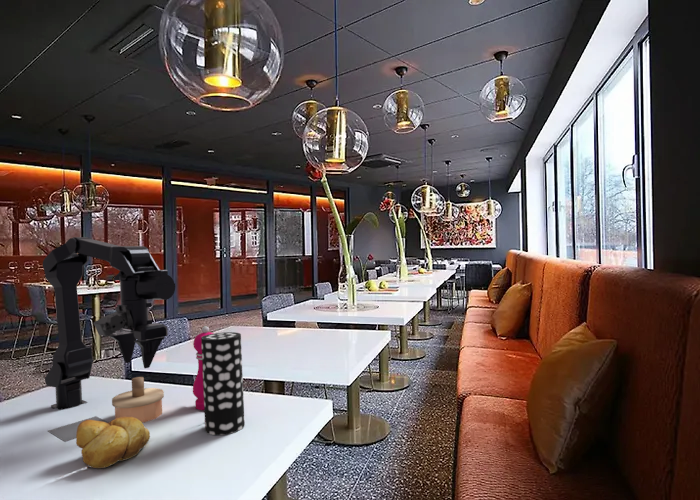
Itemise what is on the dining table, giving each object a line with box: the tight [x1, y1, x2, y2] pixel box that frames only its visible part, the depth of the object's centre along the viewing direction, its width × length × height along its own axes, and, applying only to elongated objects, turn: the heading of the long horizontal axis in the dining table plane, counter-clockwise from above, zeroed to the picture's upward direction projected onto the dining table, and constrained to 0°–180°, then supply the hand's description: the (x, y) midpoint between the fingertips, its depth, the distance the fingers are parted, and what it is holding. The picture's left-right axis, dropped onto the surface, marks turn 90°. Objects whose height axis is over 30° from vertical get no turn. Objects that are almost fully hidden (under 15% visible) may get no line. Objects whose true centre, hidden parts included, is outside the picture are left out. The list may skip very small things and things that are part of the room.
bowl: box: [114, 398, 163, 423], centre depth 105 cm, size 10×10×4 cm
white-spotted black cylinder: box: [201, 331, 246, 436], centre depth 98 cm, size 8×8×20 cm
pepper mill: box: [192, 325, 215, 411], centre depth 112 cm, size 7×7×20 cm
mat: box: [47, 415, 110, 443], centre depth 99 cm, size 10×10×1 cm
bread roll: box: [75, 417, 151, 469], centre depth 86 cm, size 13×10×8 cm
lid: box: [111, 376, 165, 408], centre depth 105 cm, size 11×11×5 cm
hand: (137, 365), depth 106 cm, fingers open, 9 cm apart
